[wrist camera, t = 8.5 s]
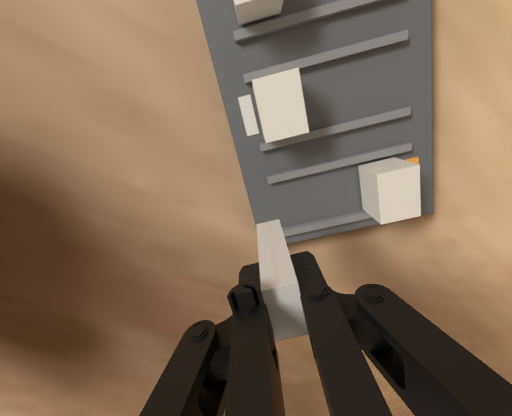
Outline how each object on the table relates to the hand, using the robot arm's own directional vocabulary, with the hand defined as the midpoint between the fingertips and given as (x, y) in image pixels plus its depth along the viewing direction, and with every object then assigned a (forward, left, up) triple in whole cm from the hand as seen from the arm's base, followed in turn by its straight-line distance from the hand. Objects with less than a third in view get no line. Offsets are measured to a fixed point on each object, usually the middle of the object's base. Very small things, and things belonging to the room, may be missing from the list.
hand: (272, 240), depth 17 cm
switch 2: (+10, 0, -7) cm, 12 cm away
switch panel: (+7, +8, -9) cm, 14 cm away
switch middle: (+3, +8, -7) cm, 10 cm away
